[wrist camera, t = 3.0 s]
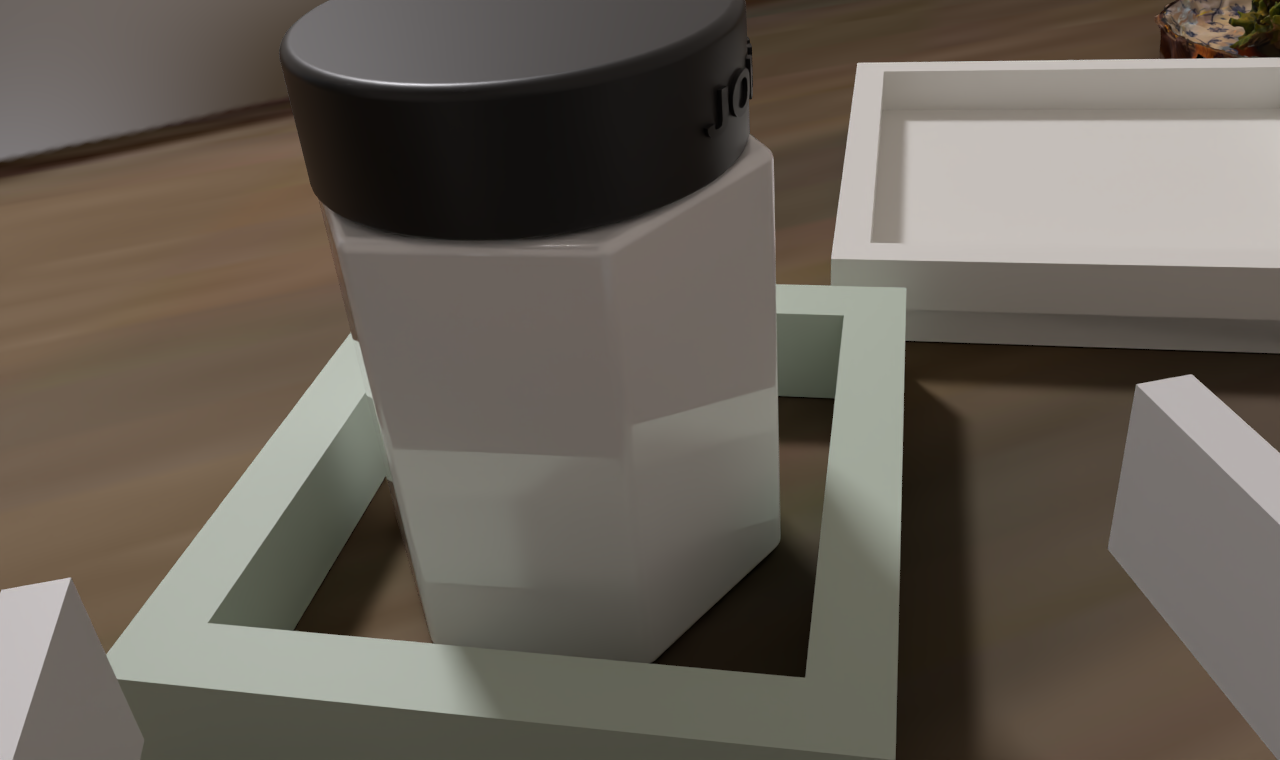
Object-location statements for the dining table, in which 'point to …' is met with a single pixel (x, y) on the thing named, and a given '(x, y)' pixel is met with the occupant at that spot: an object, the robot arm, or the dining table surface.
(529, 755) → the pale green square frame
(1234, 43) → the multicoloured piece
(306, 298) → the dining table surface
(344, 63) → the jar
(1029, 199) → the tray
